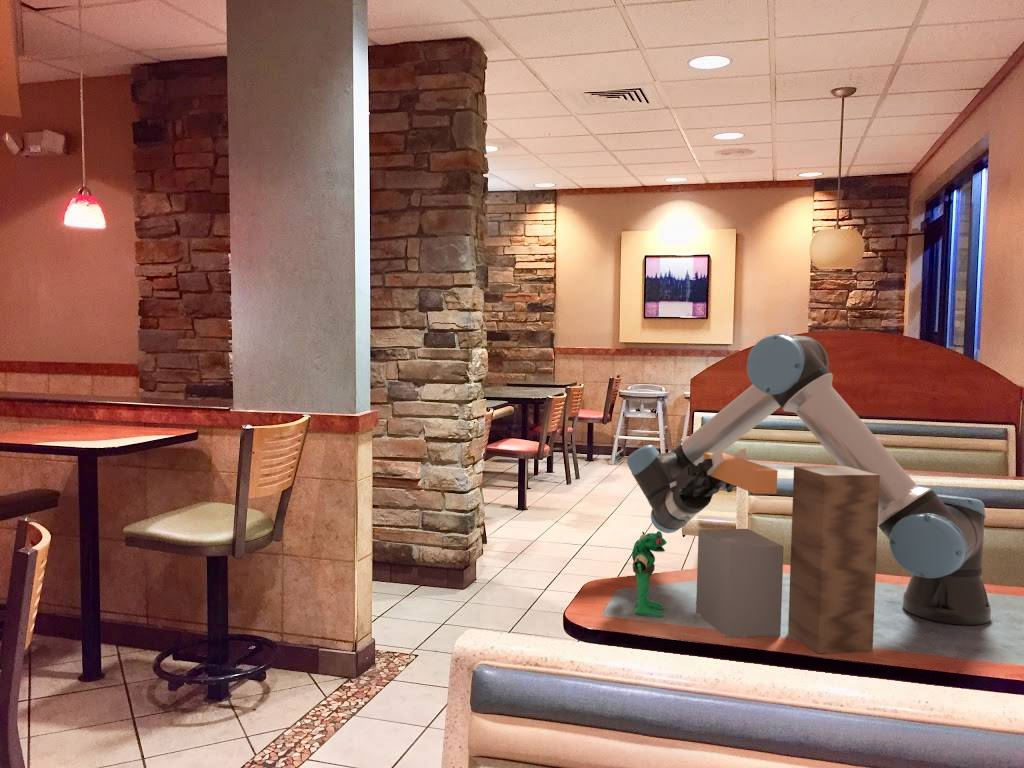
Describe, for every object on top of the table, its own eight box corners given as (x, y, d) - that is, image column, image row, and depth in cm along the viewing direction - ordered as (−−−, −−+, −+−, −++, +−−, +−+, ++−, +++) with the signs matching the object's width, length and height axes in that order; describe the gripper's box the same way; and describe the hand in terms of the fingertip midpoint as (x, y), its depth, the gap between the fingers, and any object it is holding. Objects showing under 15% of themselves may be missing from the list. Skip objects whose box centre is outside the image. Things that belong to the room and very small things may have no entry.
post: (839, 630, 149) (845, 466, 147) (872, 651, 139) (879, 474, 137) (788, 633, 147) (793, 466, 145) (818, 653, 137) (824, 475, 136)
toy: (663, 635, 145) (665, 550, 144) (626, 631, 146) (628, 548, 145) (665, 592, 170) (667, 520, 169) (634, 590, 171) (636, 518, 171)
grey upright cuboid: (744, 610, 159) (747, 528, 159) (780, 635, 146) (783, 546, 145) (696, 612, 158) (698, 529, 157) (727, 637, 144) (730, 547, 143)
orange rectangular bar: (722, 472, 162) (723, 452, 162) (776, 493, 141) (777, 470, 140) (703, 472, 162) (703, 452, 161) (754, 493, 140) (755, 470, 140)
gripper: (730, 513, 173) (779, 474, 153) (652, 514, 171) (692, 474, 150) (723, 480, 177) (771, 437, 156) (647, 480, 174) (686, 436, 153)
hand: (732, 455), depth 153 cm, fingers closed on orange rectangular bar, 4 cm apart
